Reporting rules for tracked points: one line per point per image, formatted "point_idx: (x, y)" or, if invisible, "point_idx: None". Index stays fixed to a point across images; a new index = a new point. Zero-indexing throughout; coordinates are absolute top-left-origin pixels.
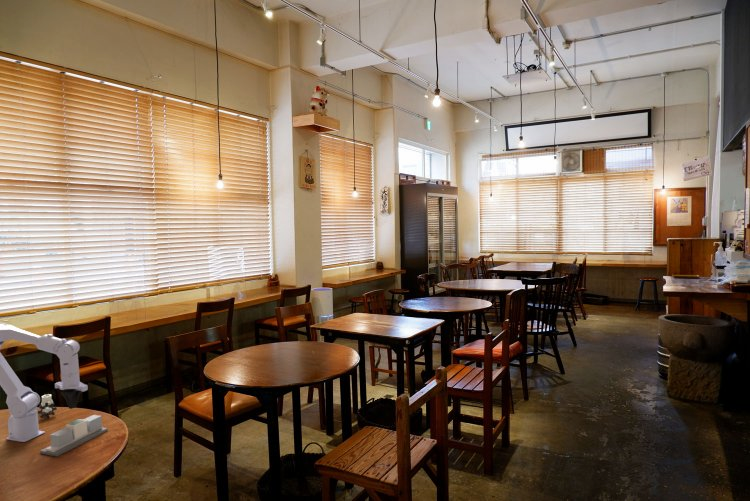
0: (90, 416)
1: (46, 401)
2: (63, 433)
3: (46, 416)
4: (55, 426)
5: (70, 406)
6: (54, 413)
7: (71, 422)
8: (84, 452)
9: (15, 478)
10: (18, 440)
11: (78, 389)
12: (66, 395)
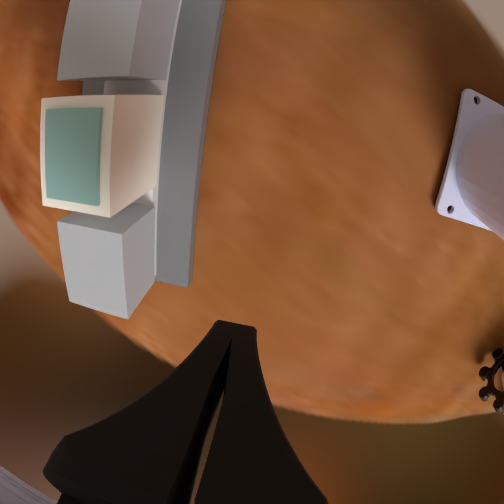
0: (121, 295)
1: None
2: (69, 19)
3: (502, 353)
4: (427, 288)
5: (216, 334)
6: (480, 374)
7: (92, 136)
8: (28, 55)
9: None
10: (499, 104)
11: (12, 486)
12: (184, 457)
